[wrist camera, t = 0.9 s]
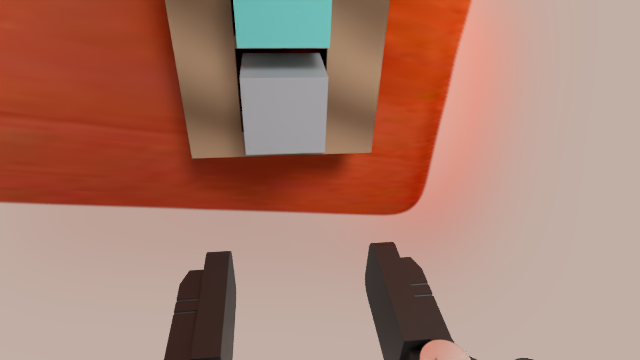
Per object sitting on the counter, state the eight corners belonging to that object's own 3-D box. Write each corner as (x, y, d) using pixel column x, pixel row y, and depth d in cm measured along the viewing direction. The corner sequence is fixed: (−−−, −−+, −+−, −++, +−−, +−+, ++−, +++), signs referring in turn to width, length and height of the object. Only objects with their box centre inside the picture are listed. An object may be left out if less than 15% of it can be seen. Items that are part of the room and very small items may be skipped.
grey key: (242, 53, 24) (239, 78, 20) (319, 52, 24) (328, 77, 21) (247, 122, 26) (245, 155, 23) (317, 121, 27) (324, 152, 23)
